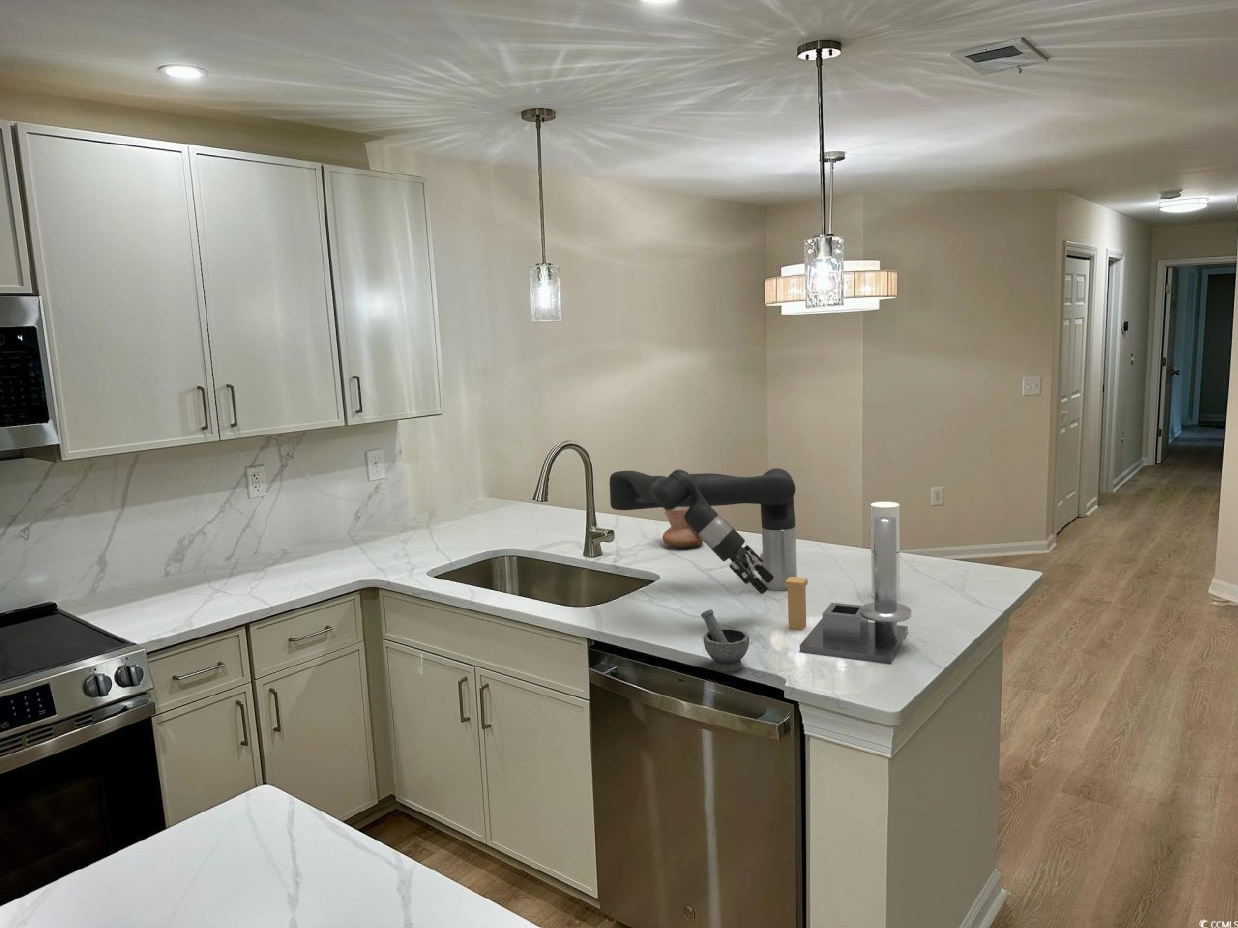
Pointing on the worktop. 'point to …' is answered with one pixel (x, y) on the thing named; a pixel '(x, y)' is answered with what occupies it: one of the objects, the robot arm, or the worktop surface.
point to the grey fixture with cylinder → (866, 612)
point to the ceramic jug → (680, 530)
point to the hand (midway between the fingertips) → (768, 585)
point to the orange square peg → (796, 602)
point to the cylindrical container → (893, 511)
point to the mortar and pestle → (724, 644)
